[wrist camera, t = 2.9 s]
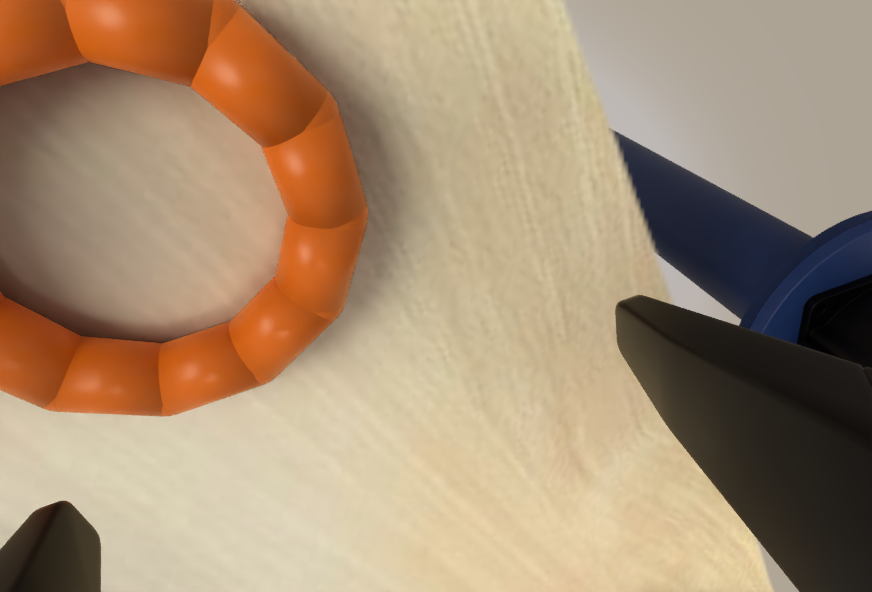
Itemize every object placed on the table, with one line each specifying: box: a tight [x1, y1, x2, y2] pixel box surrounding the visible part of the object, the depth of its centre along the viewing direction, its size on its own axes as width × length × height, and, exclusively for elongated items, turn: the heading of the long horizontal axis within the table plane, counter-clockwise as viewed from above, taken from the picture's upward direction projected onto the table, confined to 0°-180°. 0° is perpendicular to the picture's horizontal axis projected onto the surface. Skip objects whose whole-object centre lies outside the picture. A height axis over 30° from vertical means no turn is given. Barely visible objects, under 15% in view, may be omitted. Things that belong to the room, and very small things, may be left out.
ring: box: [0, 0, 368, 416], centre depth 15 cm, size 12×12×2 cm
